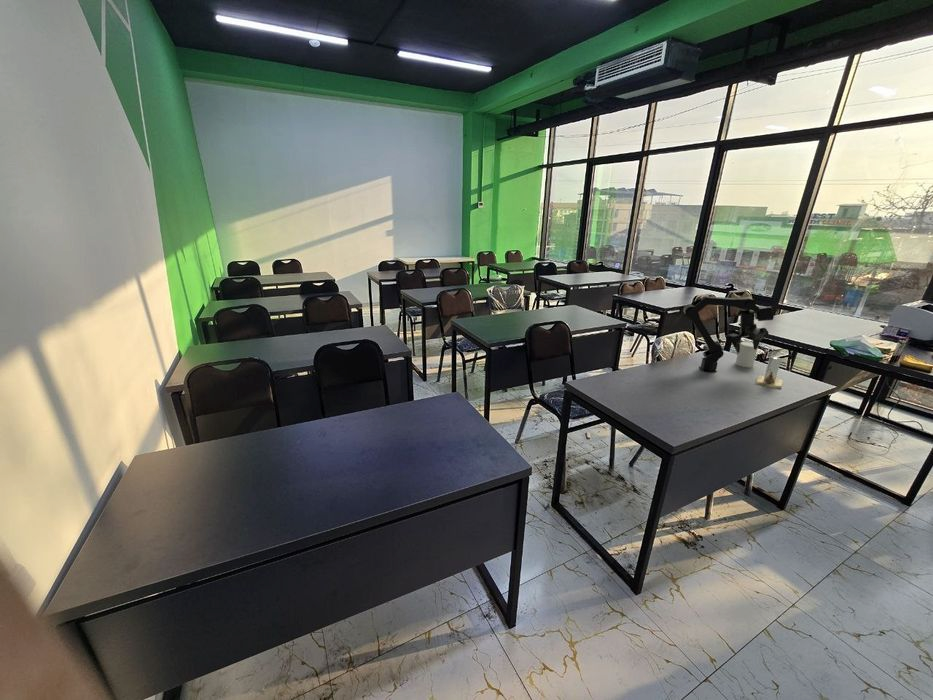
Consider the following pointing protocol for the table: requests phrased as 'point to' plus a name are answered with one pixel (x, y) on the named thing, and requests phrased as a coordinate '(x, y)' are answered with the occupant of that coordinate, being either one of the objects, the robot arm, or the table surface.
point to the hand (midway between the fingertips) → (746, 351)
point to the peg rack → (769, 382)
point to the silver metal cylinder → (772, 368)
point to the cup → (746, 355)
